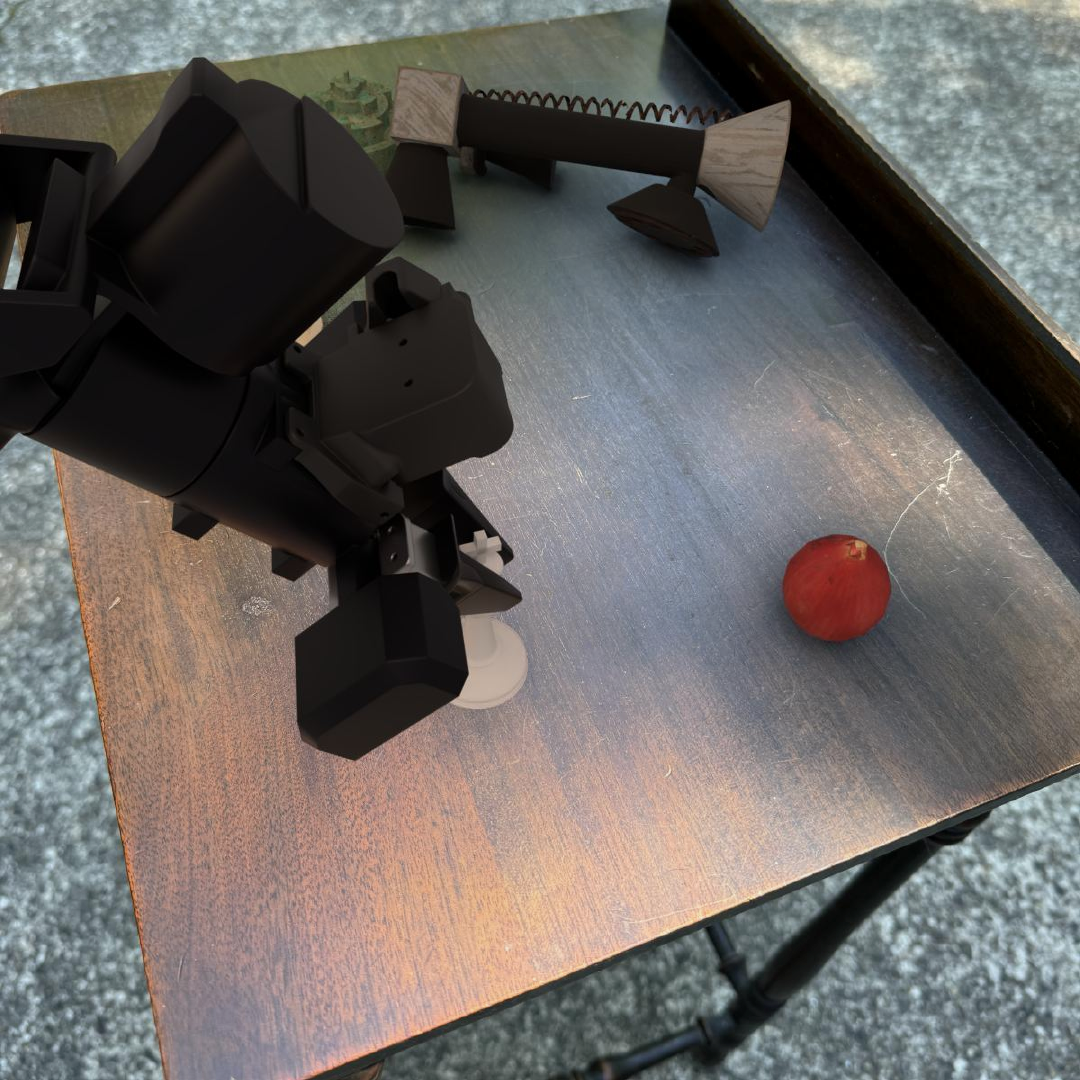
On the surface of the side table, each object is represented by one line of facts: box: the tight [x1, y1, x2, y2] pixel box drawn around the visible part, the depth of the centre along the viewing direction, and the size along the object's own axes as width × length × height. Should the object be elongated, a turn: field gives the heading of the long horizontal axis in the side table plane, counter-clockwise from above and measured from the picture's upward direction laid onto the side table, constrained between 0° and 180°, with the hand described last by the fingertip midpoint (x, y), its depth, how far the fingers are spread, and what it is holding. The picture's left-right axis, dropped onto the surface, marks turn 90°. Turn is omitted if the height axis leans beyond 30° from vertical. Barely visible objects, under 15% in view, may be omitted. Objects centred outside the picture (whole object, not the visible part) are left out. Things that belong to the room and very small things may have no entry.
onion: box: [781, 533, 892, 643], centre depth 57 cm, size 6×6×8 cm
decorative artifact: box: [300, 69, 397, 178], centre depth 86 cm, size 10×7×10 cm
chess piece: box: [449, 530, 529, 710], centre depth 45 cm, size 5×5×10 cm
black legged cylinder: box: [384, 65, 792, 259], centre depth 80 cm, size 15×13×30 cm
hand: (510, 581), depth 44 cm, fingers closed on chess piece
